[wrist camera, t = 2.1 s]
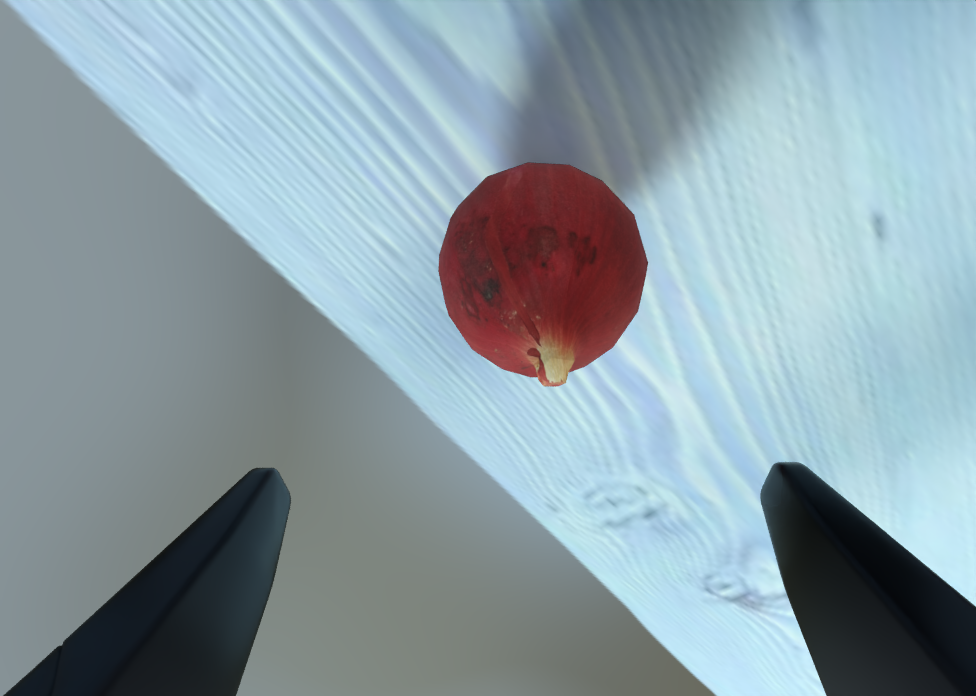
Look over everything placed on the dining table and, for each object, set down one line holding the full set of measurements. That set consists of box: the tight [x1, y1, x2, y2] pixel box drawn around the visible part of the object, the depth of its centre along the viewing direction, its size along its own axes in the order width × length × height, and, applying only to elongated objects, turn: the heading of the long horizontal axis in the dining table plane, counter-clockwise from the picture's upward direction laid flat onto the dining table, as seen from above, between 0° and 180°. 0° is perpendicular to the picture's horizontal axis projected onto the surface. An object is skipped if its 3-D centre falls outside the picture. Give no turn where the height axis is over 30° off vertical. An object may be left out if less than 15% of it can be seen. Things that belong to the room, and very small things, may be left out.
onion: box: [438, 163, 648, 386], centre depth 14 cm, size 6×6×8 cm
